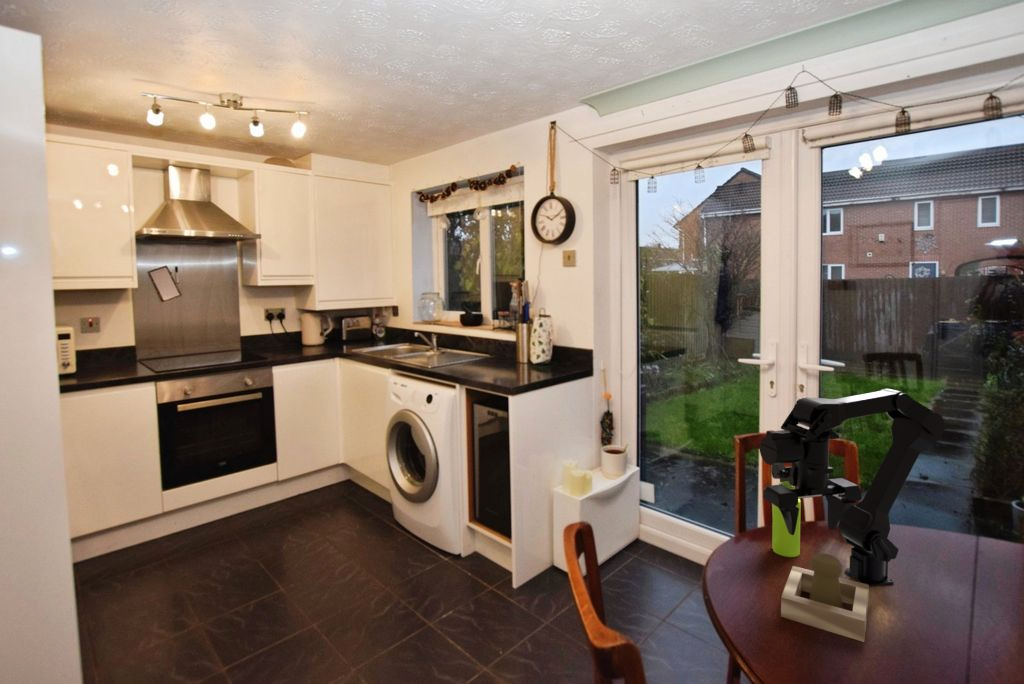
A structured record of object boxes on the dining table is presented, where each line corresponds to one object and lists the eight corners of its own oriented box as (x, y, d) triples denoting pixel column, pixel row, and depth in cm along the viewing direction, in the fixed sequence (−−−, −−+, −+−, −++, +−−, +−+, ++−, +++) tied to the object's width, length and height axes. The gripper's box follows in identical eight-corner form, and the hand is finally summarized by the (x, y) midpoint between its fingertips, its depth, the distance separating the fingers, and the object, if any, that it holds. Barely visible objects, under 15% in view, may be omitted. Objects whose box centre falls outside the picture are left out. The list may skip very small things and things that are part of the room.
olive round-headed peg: (848, 621, 101) (850, 566, 99) (813, 618, 102) (814, 564, 101) (836, 602, 107) (837, 550, 105) (803, 599, 108) (804, 548, 107)
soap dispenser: (809, 556, 124) (810, 474, 122) (779, 557, 124) (780, 475, 122) (796, 544, 130) (797, 465, 128) (767, 545, 130) (768, 466, 128)
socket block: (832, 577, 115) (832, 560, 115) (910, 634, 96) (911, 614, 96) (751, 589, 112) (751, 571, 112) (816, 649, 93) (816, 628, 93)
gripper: (824, 444, 119) (823, 511, 120) (748, 452, 116) (747, 520, 118) (864, 460, 108) (862, 533, 110) (781, 469, 105) (780, 543, 107)
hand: (811, 531), depth 111 cm, fingers open, 9 cm apart
